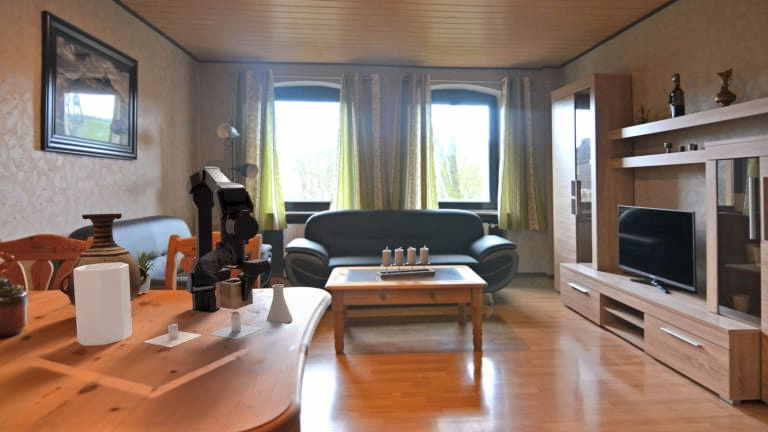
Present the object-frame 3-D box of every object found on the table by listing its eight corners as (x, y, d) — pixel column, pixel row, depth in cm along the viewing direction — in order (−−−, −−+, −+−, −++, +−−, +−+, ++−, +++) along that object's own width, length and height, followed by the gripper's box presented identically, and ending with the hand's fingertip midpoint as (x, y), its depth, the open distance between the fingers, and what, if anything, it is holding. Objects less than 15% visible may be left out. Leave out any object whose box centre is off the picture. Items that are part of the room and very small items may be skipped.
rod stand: (143, 346, 105) (142, 328, 104) (176, 335, 113) (175, 317, 113) (170, 352, 101) (169, 333, 101) (202, 339, 109) (201, 322, 109)
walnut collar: (234, 301, 115) (233, 277, 115) (252, 303, 113) (252, 279, 112) (216, 307, 110) (215, 282, 109) (235, 309, 107) (234, 284, 107)
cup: (74, 354, 101) (69, 272, 100) (81, 339, 111) (76, 265, 110) (131, 345, 106) (127, 267, 105) (133, 332, 116) (129, 260, 115)
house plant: (173, 287, 169) (171, 244, 168) (155, 296, 155) (153, 249, 154) (135, 288, 168) (132, 245, 167) (113, 297, 155) (111, 250, 154)
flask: (286, 326, 119) (285, 288, 118) (260, 325, 120) (259, 288, 120) (296, 318, 126) (295, 283, 125) (272, 317, 128) (271, 282, 127)
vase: (56, 328, 121) (49, 216, 119) (71, 311, 137) (65, 213, 135) (146, 317, 129) (141, 213, 127) (150, 303, 146) (145, 210, 144)
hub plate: (208, 339, 109) (207, 314, 109) (235, 328, 118) (235, 305, 117) (237, 344, 106) (236, 318, 105) (263, 332, 114) (262, 308, 113)
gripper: (177, 239, 107) (180, 304, 108) (237, 242, 99) (240, 312, 100) (214, 234, 117) (216, 293, 118) (271, 236, 109) (273, 300, 110)
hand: (234, 299), depth 111 cm, fingers closed on walnut collar, 6 cm apart
